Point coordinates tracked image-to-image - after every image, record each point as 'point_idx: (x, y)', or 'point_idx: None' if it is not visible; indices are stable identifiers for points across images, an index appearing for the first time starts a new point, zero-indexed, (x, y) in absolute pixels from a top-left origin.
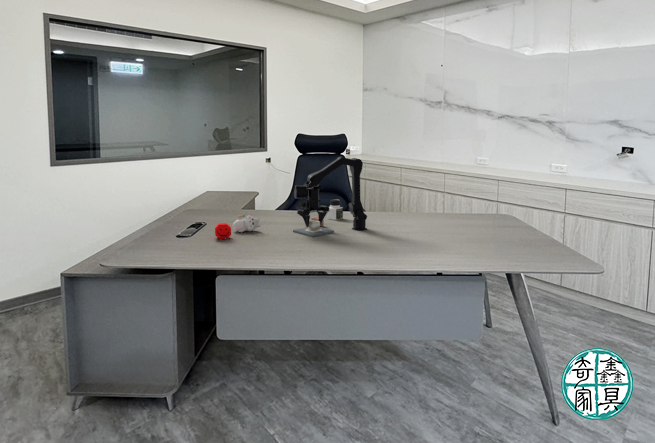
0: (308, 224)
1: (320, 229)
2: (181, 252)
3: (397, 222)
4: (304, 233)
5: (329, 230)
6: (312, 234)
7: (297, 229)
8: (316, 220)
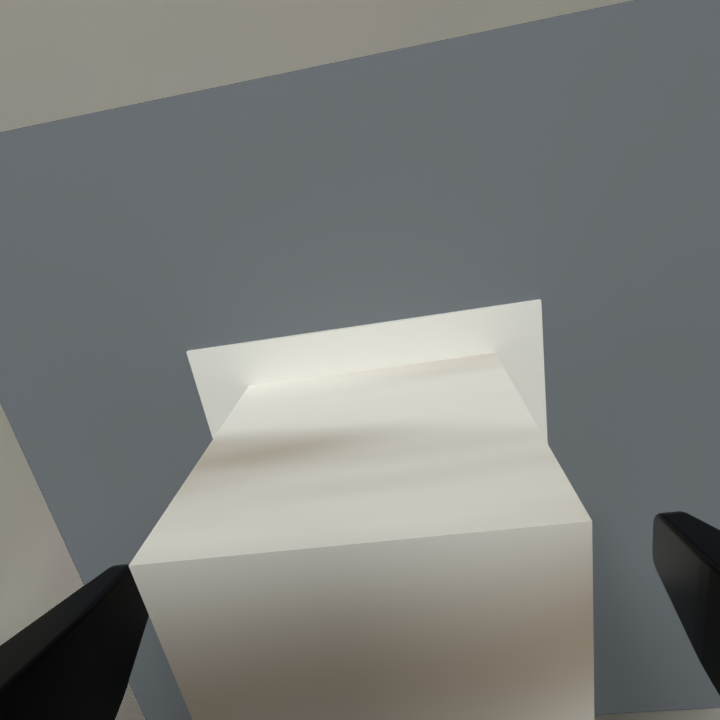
0: (103, 713)
1: (579, 498)
2: None
3: None
4: (82, 560)
5: (668, 659)
6: (177, 710)
7: (34, 167)
8: (581, 680)
